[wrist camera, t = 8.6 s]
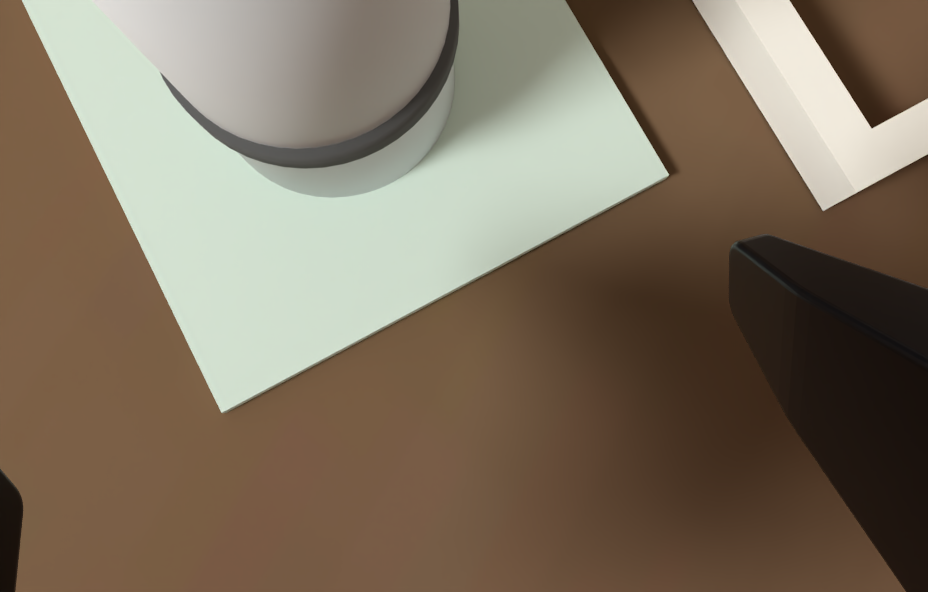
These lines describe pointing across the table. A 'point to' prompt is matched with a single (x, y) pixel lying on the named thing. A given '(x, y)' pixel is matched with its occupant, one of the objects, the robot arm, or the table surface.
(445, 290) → the mat
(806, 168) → the white square frame
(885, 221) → the table surface
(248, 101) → the grey-banded white cylinder
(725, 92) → the table surface
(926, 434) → the robot arm
